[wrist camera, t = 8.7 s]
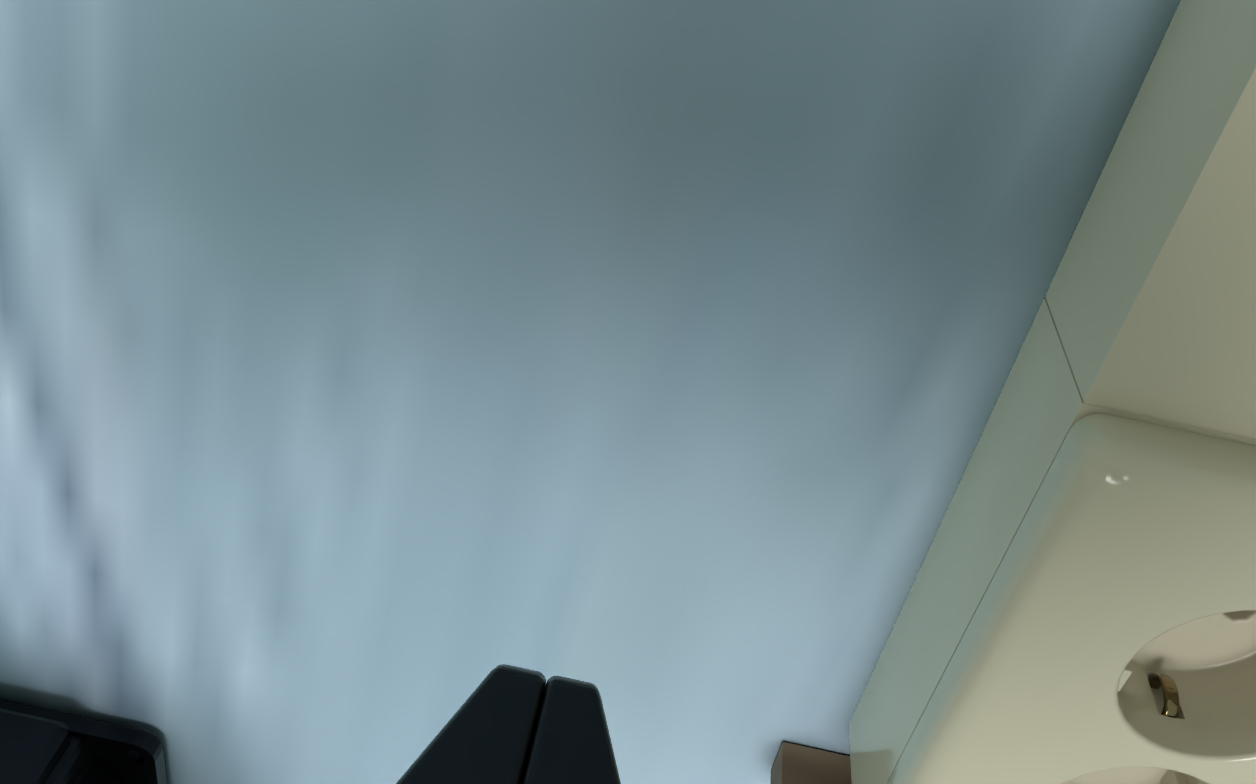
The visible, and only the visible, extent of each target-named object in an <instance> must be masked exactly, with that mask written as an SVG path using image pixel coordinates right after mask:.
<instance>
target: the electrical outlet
mask: <svg viewBox="0 0 1256 784" xmlns="http://www.w3.org/2000/svg"><path fill="white" fill-rule="evenodd" d="M1045 296H1046V298H1044V299H1043V301H1042V304H1041V306H1040V308H1039V310H1038V312H1037V314H1036V317H1035V319H1034V321H1033V323H1032V325H1031V328H1030V330H1029V332H1028V334H1027V336H1026V338H1025V341H1024V343H1023V345H1022V347H1021V349H1020V352H1019V354H1018V356H1017V358H1016V360H1015V362H1014V365H1013V367H1012V369H1011V371H1010V373H1009V375H1008V378H1007V380H1006V382H1005V384H1004V386H1003V389H1002V391H1001V393H1000V395H999V397H998V399H997V402H996V404H995V406H994V408H993V410H992V413H991V415H990V417H989V419H988V421H987V423H986V426H985V428H984V430H983V432H982V434H981V437H980V439H979V441H978V443H977V445H976V447H975V450H974V452H973V454H972V456H971V458H970V461H969V463H968V465H967V467H966V469H965V471H964V474H963V476H962V478H961V480H960V482H959V485H958V487H957V489H956V491H955V493H954V495H953V498H952V500H951V502H950V504H949V506H948V509H947V511H946V513H945V515H944V517H943V519H942V522H941V524H940V526H939V528H938V530H937V532H936V535H935V537H934V539H933V541H932V543H931V546H930V548H929V550H928V552H927V554H926V556H925V559H924V561H923V563H922V565H921V567H920V570H919V572H918V574H917V576H916V578H915V580H914V583H913V585H912V587H911V589H910V591H909V594H908V596H907V598H906V600H905V602H904V604H903V607H902V609H901V611H900V613H899V615H898V618H897V620H896V622H895V624H894V626H893V628H892V631H891V633H890V635H889V637H888V639H887V642H886V644H885V646H884V648H883V650H882V652H881V655H880V657H879V659H878V661H877V663H876V665H875V668H874V670H873V672H872V674H871V676H870V679H869V681H868V683H867V685H866V687H865V689H864V692H863V694H862V696H861V698H860V700H859V703H858V705H857V707H856V709H855V711H854V713H853V716H852V718H851V720H850V722H849V727H848V728H849V749H850V770H851V784H1256V0H1180V3H1179V5H1178V7H1177V9H1176V11H1175V14H1174V16H1173V18H1172V20H1171V22H1170V24H1169V27H1168V29H1167V31H1166V33H1165V35H1164V38H1163V40H1162V42H1161V44H1160V46H1159V48H1158V51H1157V53H1156V55H1155V57H1154V59H1153V62H1152V64H1151V66H1150V68H1149V70H1148V72H1147V75H1146V77H1145V79H1144V81H1143V83H1142V86H1141V88H1140V90H1139V92H1138V94H1137V96H1136V99H1135V101H1134V103H1133V105H1132V107H1131V109H1130V112H1129V114H1128V116H1127V118H1126V120H1125V123H1124V125H1123V127H1122V129H1121V131H1120V133H1119V136H1118V138H1117V140H1116V142H1115V144H1114V147H1113V149H1112V151H1111V153H1110V155H1109V157H1108V160H1107V162H1106V164H1105V166H1104V168H1103V171H1102V173H1101V175H1100V177H1099V179H1098V181H1097V184H1096V186H1095V188H1094V190H1093V192H1092V195H1091V197H1090V199H1089V201H1088V203H1087V205H1086V208H1085V210H1084V212H1083V214H1082V216H1081V219H1080V221H1079V223H1078V225H1077V227H1076V229H1075V232H1074V234H1073V236H1072V238H1071V240H1070V242H1069V245H1068V247H1067V249H1066V251H1065V253H1064V256H1063V258H1062V260H1061V262H1060V264H1059V266H1058V269H1057V271H1056V273H1055V275H1054V277H1053V280H1052V282H1051V284H1050V286H1049V288H1048V290H1047V293H1046V295H1045Z"/></svg>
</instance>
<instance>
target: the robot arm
mask: <svg viewBox="0 0 1256 784" xmlns="http://www.w3.org/2000/svg"><path fill="white" fill-rule="evenodd" d="M545 685H546V686H545ZM0 784H167V777H166V768H165V760H164V751H163V746H162V744H161V742H160V741H159V740H158V739H157V738H156V737H155V736H153V735H152V734H150V733H148V732H145V731H142V730H138V729H134V728H129V727H124V726H120V725H115V724H111V723H106V722H102V721H97V720H92V719H88V718H83V717H79V716H74V715H69V714H65V713H60V712H56V711H51V710H47V709H42V708H37V707H33V706H28V705H24V704H19V703H15V702H10V701H5V700H1V699H0ZM396 784H621V783H620V778H619V774H618V770H617V765H616V761H615V757H614V752H613V748H612V744H611V739H610V735H609V731H608V726H607V722H606V717H605V713H604V709H603V704H602V700H601V696H600V693H599V691H598V689H597V687H596V686H595V685H593V684H592V683H588V682H584V681H579V680H575V679H570V678H566V677H561V676H553V677H551V678H550V679H549V680H548V681H547V683H546V679H545V676H544V675H543V674H542V673H540V672H538V671H534V670H529V669H524V668H520V667H515V666H511V665H505V664H503V665H499V666H497V667H496V668H494V669H493V670H492V671H491V672H490V673H489V674H488V676H487V677H486V678H485V679H484V680H483V681H482V683H481V684H480V685H479V686H478V687H477V689H476V690H475V691H474V692H473V693H472V694H471V696H470V697H469V698H468V699H467V700H466V702H465V703H464V704H463V705H462V706H461V707H460V709H459V710H458V711H457V712H456V713H455V715H454V716H453V717H452V718H451V719H450V720H449V722H448V723H447V724H446V725H445V726H444V728H443V729H442V730H441V731H440V732H439V733H438V735H437V736H436V737H435V738H434V739H433V741H432V742H431V743H430V744H429V745H428V746H427V748H426V749H425V750H424V751H423V752H422V754H421V755H420V756H419V757H418V758H417V759H416V761H415V762H414V763H413V764H412V765H411V767H410V768H409V769H408V770H407V771H406V772H405V774H404V775H403V776H402V777H401V778H400V780H399V781H398V782H397V783H396Z"/></svg>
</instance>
